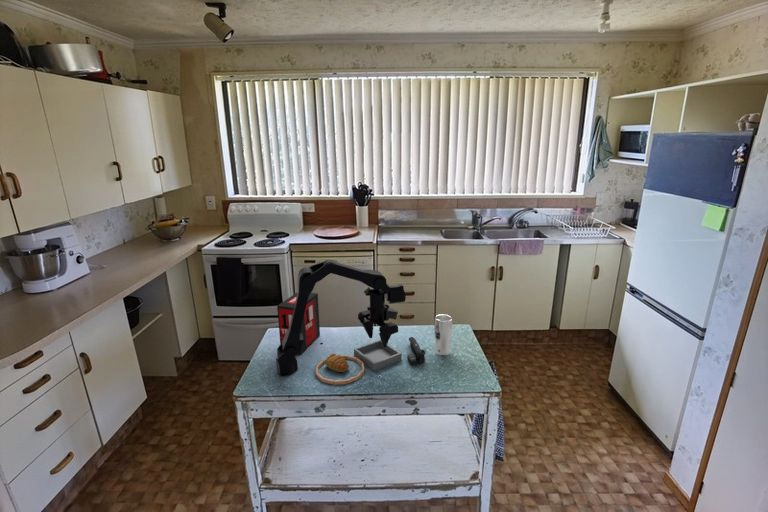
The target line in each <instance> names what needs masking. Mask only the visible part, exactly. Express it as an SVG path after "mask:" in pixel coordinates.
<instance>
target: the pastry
mask: <svg viewBox="0 0 768 512" xmlns="http://www.w3.org/2000/svg"><path fill="white" fill-rule="evenodd" d="M326 358H327V359H326ZM326 358H325V359H326V361H325V363H324V364H325V365H326V366H327V368H328V369H330V370H332V371H334V372H339V373H344V372H346V371H347V370H349V368H350V365H349V363H348V361H347V359H344V358H343V357H341V356H340V354H337V353H331V354H330V355H328V356H327V357H326Z"/></svg>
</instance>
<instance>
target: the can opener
mask: <svg viewBox="0 0 768 512" xmlns="http://www.w3.org/2000/svg"><path fill="white" fill-rule="evenodd" d="M408 341H409V346H410V349H411V350H412V353H410V354H407V361H408V362H409V364H410V365H417V364H418V363H422V362H424V361H425V360H426V358H425V357H426V356H425V355H426V352H427V351H426V349H425V348H424V349H421V347H420V345H419V343H418V341H417V340H416V338H415V337H414V336H410V337H409V338H408Z"/></svg>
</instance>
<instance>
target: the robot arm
mask: <svg viewBox="0 0 768 512" xmlns="http://www.w3.org/2000/svg"><path fill="white" fill-rule="evenodd" d="M330 274H332V275H337V276H340V277H343V278H347V279H350V280H354V281H358V282H360V283H363V284H364V285H366V286H367V288H366V289H365V290H364V291H363V293H364V295H365V296H367V297H368V296H369V306H367V307H366V310H362V311H359V313H358V314H357V320H358V321H359V322H360V324H361V325H362V327H363V329H364V330H365V332H366V334H367V336H368V338H369V339H373V334H374V325H377V326H379V327H378V328H379V329H378V330H379V333H378V335H379V338H380V340H381V342H382V345H383V347H384V348H385V347H386V346H387V344H388V345H389V341H390V338H391V336H392V335H394V334H396V333H399V326H398V325H397V324H396V323H394V322H392V321H389V319H390V320H397V317H398V313H399V311H397V310H396V309H394V308H392V307H390V306H389V304H398V303H399V304H400V303H405V302H406V293H405V289H404V285H403V284H402V283H401V284H395V285H394V284H393V285H389V283H388V282H387V279H386V277H385V276H384V275H383V274H382V272H381V271H379V270H376V269H360V268H357V267H354V266H351V265H347V264H343V263H340V262H336V261H333V260H332V259H326V260H324V261H322V262H319V263H316V264H313V265H311V266H309V267H307V266H305V267H302V268H301V269H299V270H298V272H297V292H298V293H297V292H296V293H297V297H296V302H295V306H294V310H293V314H292V318H291V323H290V327H289V329H288V331H287V332H286V334H285V336H284V339H283V341H282V344H281V345H280V344H279V346H278V347H277V349H276V358H275V361H276V363H275V364H276V373H277V374H278V375H279V377H288V376H292V375H293V374H295V372H297V371H298V368H299V367H298V359H297V358H296V356H299V355H298V353H299V350H300V351H301V346H302V344H303V335H302V333H300V330H301V326H302V322H303V318H304V313H305V309H306V305H307V301H308V297H309V295H310V294H311V293H313V290H314V289H315V286H316V284H317V283H319V282H320V281H322V280H324V278H326V277H327V276H328V275H330ZM386 302H388V304H387V303H386ZM387 321H388V322H387Z"/></svg>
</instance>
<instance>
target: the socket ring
mask: <svg viewBox="0 0 768 512" xmlns="http://www.w3.org/2000/svg"><path fill="white" fill-rule="evenodd" d="M339 355H340V354H339ZM340 356H341V357H343V358H344V359H345V360H351V361H355V362H356V363H357V364H359V365H360V366H361V370H360V371H359V372H358V374H357V375H355V376H352V377H350V378H347V379H337V380H333V379H331V378H330V379H329V378H326V377H323V376H322V375H321V374H320V373H319V369H320V368H321V367H322V366H323V365H324V364H326V363H325V361H326V359H327V357H326V358H323V359H322V360H321V361H319V363H317V365H316V366H315V377H317V378H318V380H320V381H321V382H322V383H325V384H330V385H335V386H337V385H347V384H350V383H352V382H355V381H358V380H359V379H361V378H362V376H363V375H364V373H365V364H364V363H363V362H362V361H361V360H359V359H358V358H357V357H355V356H352V355H348V354H347V355H346V354H343V355H340Z"/></svg>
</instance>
